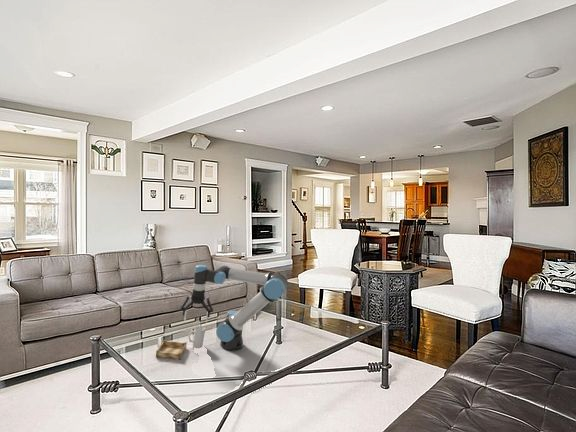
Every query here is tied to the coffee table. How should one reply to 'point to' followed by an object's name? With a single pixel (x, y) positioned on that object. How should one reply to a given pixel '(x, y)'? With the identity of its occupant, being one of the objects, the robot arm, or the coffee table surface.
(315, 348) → the coffee table surface
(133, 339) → the coffee table surface
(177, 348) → the crate
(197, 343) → the mug
